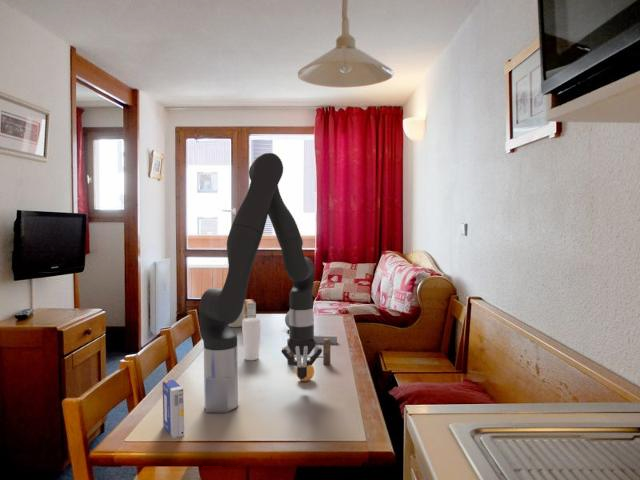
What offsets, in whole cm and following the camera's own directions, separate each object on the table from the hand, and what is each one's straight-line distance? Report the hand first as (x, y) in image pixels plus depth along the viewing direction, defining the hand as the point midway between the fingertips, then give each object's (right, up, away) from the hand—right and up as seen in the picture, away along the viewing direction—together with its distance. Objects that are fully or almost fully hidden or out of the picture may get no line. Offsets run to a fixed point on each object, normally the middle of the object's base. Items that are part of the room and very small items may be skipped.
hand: (302, 378), depth 138 cm
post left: (-5, -3, +26) cm, 26 cm away
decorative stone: (-6, -1, +76) cm, 76 cm away
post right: (+8, -3, +25) cm, 26 cm away
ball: (+1, 0, +8) cm, 8 cm away
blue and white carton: (-31, -5, -26) cm, 41 cm away
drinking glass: (-20, -3, +31) cm, 38 cm away
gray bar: (+3, -1, +53) cm, 53 cm away
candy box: (-27, -1, +69) cm, 74 cm away
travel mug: (-36, 0, +84) cm, 92 cm away
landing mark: (+2, -2, +40) cm, 40 cm away
